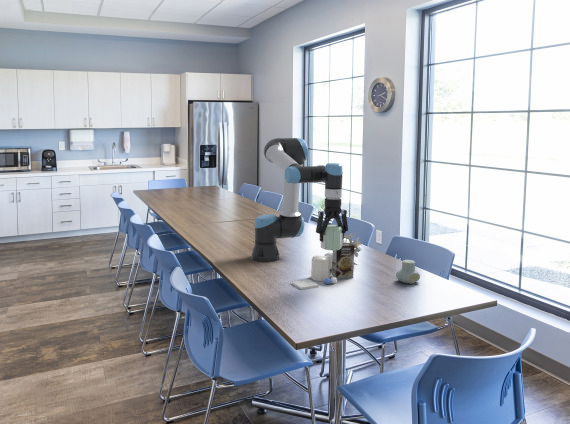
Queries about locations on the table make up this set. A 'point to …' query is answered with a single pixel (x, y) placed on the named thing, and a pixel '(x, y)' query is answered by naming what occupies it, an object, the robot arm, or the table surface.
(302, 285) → the coaster
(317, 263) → the cream cup
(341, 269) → the coffee box
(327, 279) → the marble
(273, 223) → the robot arm
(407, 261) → the air freshener
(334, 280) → the marble
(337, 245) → the sage green dome
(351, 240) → the flower vase
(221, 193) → the table surface
